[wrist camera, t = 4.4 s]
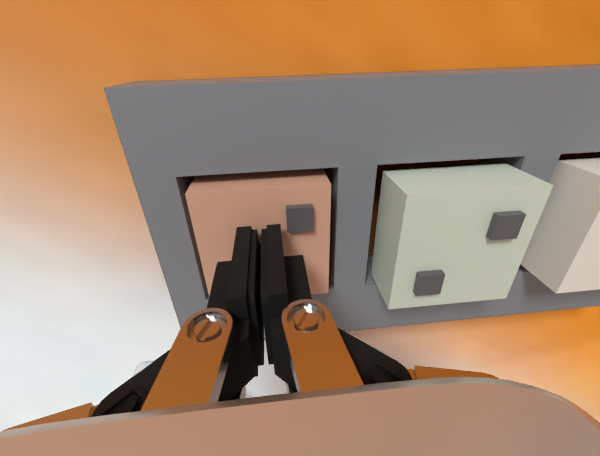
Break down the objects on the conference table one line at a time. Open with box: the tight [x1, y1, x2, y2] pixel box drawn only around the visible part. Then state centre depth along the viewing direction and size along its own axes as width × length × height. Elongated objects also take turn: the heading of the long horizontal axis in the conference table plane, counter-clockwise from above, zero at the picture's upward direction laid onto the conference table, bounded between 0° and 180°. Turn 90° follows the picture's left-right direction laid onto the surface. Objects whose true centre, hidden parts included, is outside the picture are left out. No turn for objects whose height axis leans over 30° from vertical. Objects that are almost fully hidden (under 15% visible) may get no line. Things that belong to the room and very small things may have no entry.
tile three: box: [185, 168, 331, 295], centre depth 13 cm, size 5×5×3 cm
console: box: [104, 65, 600, 339], centre depth 14 cm, size 24×12×2 cm, turn 92°
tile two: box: [371, 163, 553, 309], centre depth 12 cm, size 5×5×3 cm
